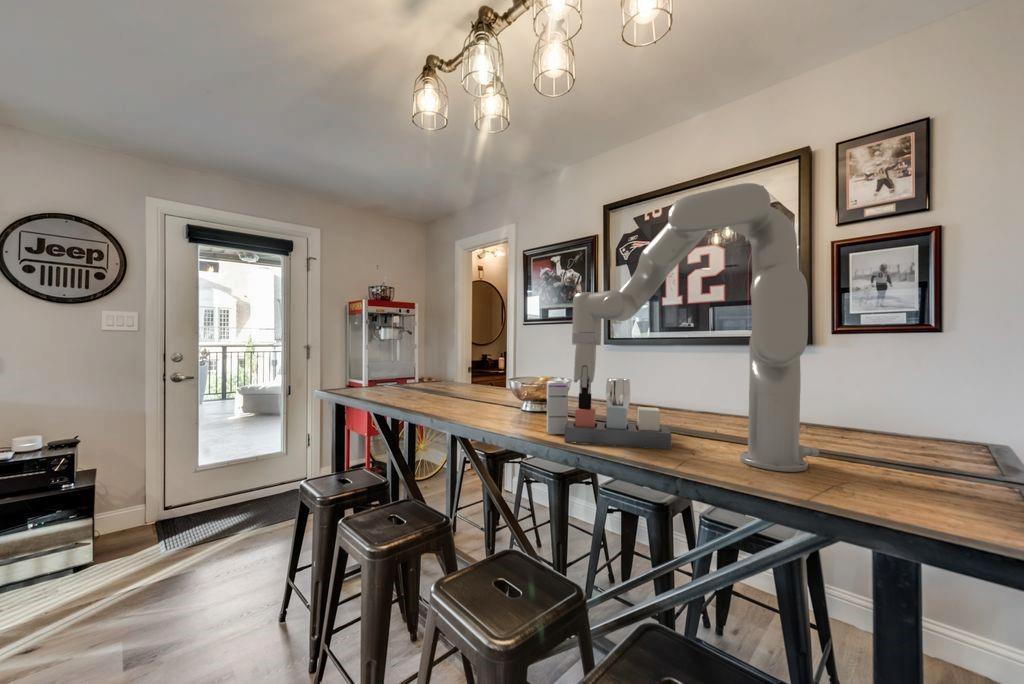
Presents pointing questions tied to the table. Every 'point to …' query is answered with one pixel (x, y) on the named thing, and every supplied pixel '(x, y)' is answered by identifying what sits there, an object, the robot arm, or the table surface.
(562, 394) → the syrup box
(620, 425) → the grey cube
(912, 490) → the table surface
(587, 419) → the key red
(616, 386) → the beer glass
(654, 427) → the key ivory
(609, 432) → the grey slotted holder
